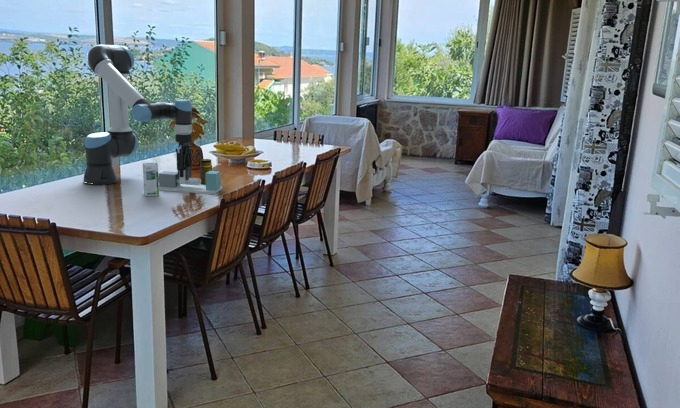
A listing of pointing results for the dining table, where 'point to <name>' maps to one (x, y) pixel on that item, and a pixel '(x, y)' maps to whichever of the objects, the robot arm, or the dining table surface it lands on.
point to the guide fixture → (169, 184)
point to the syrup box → (151, 179)
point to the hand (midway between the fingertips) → (184, 182)
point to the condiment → (204, 169)
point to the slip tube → (188, 177)
